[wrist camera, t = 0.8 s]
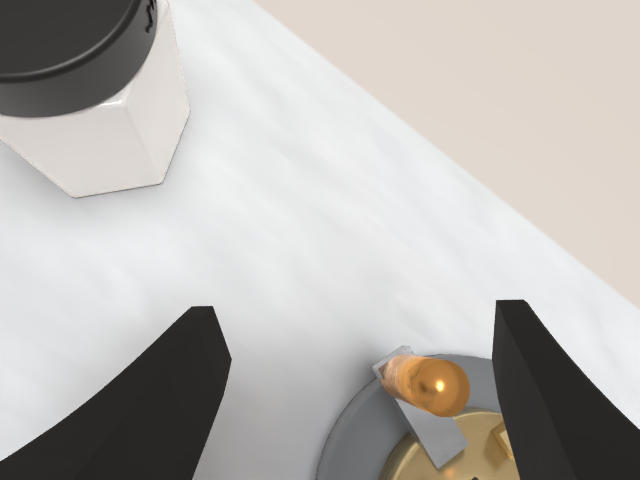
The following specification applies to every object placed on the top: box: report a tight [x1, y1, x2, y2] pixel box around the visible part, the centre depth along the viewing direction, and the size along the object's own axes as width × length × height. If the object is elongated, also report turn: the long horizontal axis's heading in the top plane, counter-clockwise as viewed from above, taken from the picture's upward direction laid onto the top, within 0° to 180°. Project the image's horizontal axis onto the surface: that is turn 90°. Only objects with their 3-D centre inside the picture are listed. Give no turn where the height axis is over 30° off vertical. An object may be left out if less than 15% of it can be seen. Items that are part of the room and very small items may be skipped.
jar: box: [0, 0, 190, 198], centre depth 20 cm, size 9×8×12 cm
